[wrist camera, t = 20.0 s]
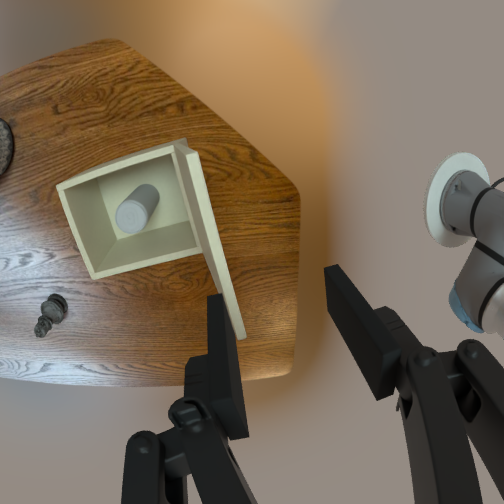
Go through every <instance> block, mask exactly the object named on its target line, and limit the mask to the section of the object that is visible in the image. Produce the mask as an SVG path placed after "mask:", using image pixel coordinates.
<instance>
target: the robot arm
mask: <svg viewBox="0 0 504 504" xmlns="http://www.w3.org/2000/svg"><path fill="white" fill-rule="evenodd" d="M503 181H504V178H501V179H499V180H498V181H496V182H495V183H494V184H493V185H492V186H490V185H489V184H488V183H487V182H486V181H485V180H484V179H483V178H481V177H480V176H479V175H478V174H477V173H475V172H473V171H470V170H460V171H457V172H456V173H454V174H453V175H452V176H451V177H450V178H449V180H448V181H447V183H446V184H445V186H444V189H443V191H442V194H441V198H440V217H441V221H442V223H443V225H444V226H445V228H446V229H447V230H449V231H450V232H452V233H454V234H456V235H461V236H470V237H475V238H477V241H476V243H475V245H474V247H473V249H472V251H471V253H470V255H469V257H468V259H467V261H466V263H465V265H464V267H463V269H462V270H461V272H460V274H459V276H458V278H457V279H456V280H455V282H454V286H453V288H452V290H451V292H450V294H449V304H450V306H451V309H452V310H453V312H454V313H455V315H456V316H457V317H458V318H459V319H460V320H461V321H462V322H463V323H465V324H466V326H467V327H468V328H470V329H471V330H473V331H475V332H477V333H483V332H486V333H489V334H492V333H496V332H497V333H498V334H499V335H500V336H501V337H502V338H503V340H504V192H502V191H500V190H497V189H495V188H494V187H496V186H497V185H498V184H499V183H501V182H503ZM324 275H325V286H326V297H327V307H328V312H329V314H330V315H331V317H332V319H333V321H334V323H335V324H336V326H337V328H338V330H339V331H340V333H341V335H342V337H343V339H344V341H345V343H346V344H347V346H348V348H349V350H350V351H351V353H352V355H353V357H354V359H355V361H356V363H357V365H358V366H359V368H360V370H361V372H362V374H363V376H364V377H365V379H366V381H367V383H368V385H369V387H370V389H371V391H372V393H373V395H374V396H375V398H376V400H377V401H378V400H381V399H383V398H386V397H388V396H391V395H393V394H394V389H395V387H396V388H397V390H398V392H399V393H400V394H399V398H398V402H397V406H396V411H399V408H400V410H401V415H402V420H403V425H404V431H405V436H406V442H407V448H408V454H409V461H410V468H411V475H412V482H413V491H414V500H415V504H483V502H482V496H481V491H480V487H479V481H478V477H477V472H476V468H475V463H474V459H473V456H472V452H471V448H470V444H469V440H468V437H467V435H468V436H469V438H470V440H471V442H472V443H473V445H474V447H475V448H476V450H477V452H478V454H479V455H480V457H481V459H482V461H483V462H484V464H485V466H486V468H487V470H488V472H489V473H490V475H491V477H492V479H493V481H494V482H495V484H496V487H497V488H498V490H499V492H500V494H501V496H502V498H503V500H504V368H503V367H502V366H501V364H499V362H498V361H497V360H496V359H495V357H494V356H493V355H492V354H491V353H490V352H489V350H488V349H487V348H486V347H485V346H484V345H483V344H482V343H481V342H479V341H477V340H474V339H467V340H464V341H462V342H461V343H460V344H459V345H458V347H457V350H455V351H449V352H440V353H438V352H437V351H436V350H434V349H433V348H430V347H426V346H423V345H422V344H421V343H420V342H419V341H418V339H417V338H416V337H415V335H414V334H413V333H412V332H411V331H410V329H409V328H408V327H407V325H405V323H404V322H403V321H402V320H401V319H400V317H399V316H398V315H397V313H396V312H395V311H394V310H392V309H390V308H388V307H386V306H384V307H381V308H378V309H375V310H373V309H372V308H371V306H370V305H369V304H368V302H367V301H366V300H365V298H364V297H363V296H362V294H361V293H360V292H359V291H358V289H357V288H356V287H355V286H354V284H353V283H352V282H351V280H350V279H349V278H348V277H347V275H346V274H345V273H344V271H343V270H342V269H341V268H340V267H339V265H338V264H336V265H332V266H329V267H325V268H324ZM207 332H208V354H206V355H201V356H195V357H190V359H189V361H188V362H187V364H186V366H185V381H184V384H185V385H184V397H182V398H180V399H178V400H176V401H175V402H174V403H173V404H172V405H171V407H170V409H169V411H168V417H169V419H170V420H171V422H172V423H173V424H174V427H173V428H171V429H169V430H167V431H165V432H162V433H160V434H157V435H156V434H155V433H153V432H151V431H140V432H137V433H136V434H134V435H132V436H131V438H130V439H129V440H128V443H127V445H126V453H125V463H124V473H123V485H122V498H121V504H188V494H187V475H189V474H192V476H193V479H194V482H195V485H196V487H197V490H198V493H199V496H200V498H201V501H202V503H203V504H258V503H257V501H256V499H255V498H254V496H253V493H252V492H251V490H250V488H249V486H248V484H247V482H246V480H245V478H244V476H243V474H242V472H241V470H240V467H239V465H238V463H237V461H236V459H235V457H234V455H233V453H232V451H231V449H230V447H229V445H228V437H229V439H230V440H236V439H241V438H247V437H249V432H248V425H247V418H246V411H245V404H244V397H243V390H242V383H241V376H240V369H239V361H238V354H237V346H236V339H235V333H234V330H233V326H232V323H231V320H230V317H229V314H228V310H227V307H226V304H225V301H224V297H223V294H222V293H219V294H215V295H211V296H207Z"/></svg>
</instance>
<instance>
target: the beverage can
mask: <svg viewBox="0 0 504 504" xmlns="http://www.w3.org/2000/svg"><path fill="white" fill-rule="evenodd" d="M159 198H160V196H159V192H158V190H157V189H156V188H155V187H154V186H153V185H150V184H142V185H140V186H138V187H137V188H136V189H135V190H134V191H133V192H132V193H131V194H130V195H129V196H128V197H127V198H126V199H125V200H124V201H123V202H122V203H121V204H120V205H119V206H118V208H117V210H116V213H115V222H116V224H117V226H118V228H119V229H120V230H121V231H123V232H125V233H128V234H135V233H137V232H140V231H141V230H142V229H143V228H144V227H145V226H146V224H147V222H148V221H149V219H150V217H151V216H152V214H153V212H154V210H155V208H156V206H157V204H158V202H159Z"/></svg>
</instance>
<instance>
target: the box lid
mask: <svg viewBox="0 0 504 504" xmlns="http://www.w3.org/2000/svg"><path fill="white" fill-rule="evenodd" d="M173 146H174V150H175V154H176V158H177V162H178V166H179V170H180V173H181V177H182V181H183V184H184V188H185V192H186V196H187V199H188V203H189V206H190V210H191V213H192V217H193V220H194V224H195V227H196V231H197V234H198V238H199V241H200V245H201V248H202V251H203V254H204V257H205V260H206V262H207V265H208V267H209V270H210V273H211V275H212V278H213V280H214V283H215V285H216V288H217V290H218V293H222V294H223V297H224V301H225V304H226V307H227V310H228V314H229V317H230V320H231V323H232V326H233V329H234V332H235V334H236V336H237V339H238V340H242V339H244V338H247V335H246V331H245V328H244V324H243V321H242V317H241V314H240V310H239V307H238V303H237V300H236V296H235V292H234V289H233V285H232V282H231V278H230V274H229V271H228V267H227V263H226V260H225V256H224V252H223V249H222V245H221V241H220V237H219V234H218V230H217V226H216V222H215V218H214V215H213V211H212V207H211V203H210V199H209V195H208V191H207V187H206V183H205V179H204V175H203V171H202V167H201V163H200V159H199V155H198V152H196V151H194V150H192V149H190V148H188V147H186V146H184V145H182V144H180V143H178V144H175V145H173Z"/></svg>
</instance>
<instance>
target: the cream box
mask: <svg viewBox="0 0 504 504" xmlns="http://www.w3.org/2000/svg"><path fill="white" fill-rule="evenodd" d="M178 143H180V144H182V145H184V146H186V147H188V144H187V140H186V138H182V139H179V140H175V141H171V142H168V143H164V144H161V145H158V146H154V147H151V148H148V149H145V150H141V151H138V152H135V153H132V154H129V155H126V156H123V157H120V158H117V159H114V160H111V161H109V162H106V163H103V164H100V165H98V166H95V167H92V168H90V169H88V170H86V171H84V172H82V173H79V174H77V175H75V176H73V177H71V178H69V179H67V180H66V181H64V182H62V183H60V184H58V185H56V187H57V191H58V193H59V196H60V199H61V202H62V205H63V208H64V211H65V214H66V217H67V219H68V222H69V225H70V227H71V230H72V233H73V235H74V238H75V240H76V243H77V245H78V248H79V250H80V253H81V255H82V257H83V260H84V262H85V264H86V267H87V269H88V271H89V273H90V276H91V278H92V280H94V279H98V278H102V277H106V276H110V275H114V274H118V273H122V272H126V271H130V270H134V269H138V268H142V267H146V266H150V265H154V264H158V263H162V262H166V261H170V260H174V259H178V258H182V257H186V256H191V255H195V254H199V253H203V251H202V248H201V245H200V241H199V238H198V234H197V231H196V227H195V224H194V220H193V217H192V213H191V210H190V206H189V203H188V199H187V196H186V192H185V188H184V184H183V181H182V177H181V173H180V170H179V166H178V162H177V158H176V154H175V150H174V146H173V145H175V144H178ZM142 184H150V185H153V186H154V187H155V188H156V189H157V190H158V192H159V196H160V198H159V202H158V204H157V206H156V208H155V210H154V212H153V214H152V216H151V217H150V219H149V221H148V222H147V224H146V226H145V227H144V228H143V229H142V230H141V231H140V232H137V233H135V234H128V233H125V232H123V231H121V230H120V229H119V228H118V226H117V224H116V222H115V213H116V210H117V208H118V206H119V205H120V204H121V203H122V202H123V201H124V200H125V199H126V198H127V197H128V196H129V195H130V194H131V193H132V192H133V191H134V190H135V189H136V188H137V187H138V186H140V185H142Z"/></svg>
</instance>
